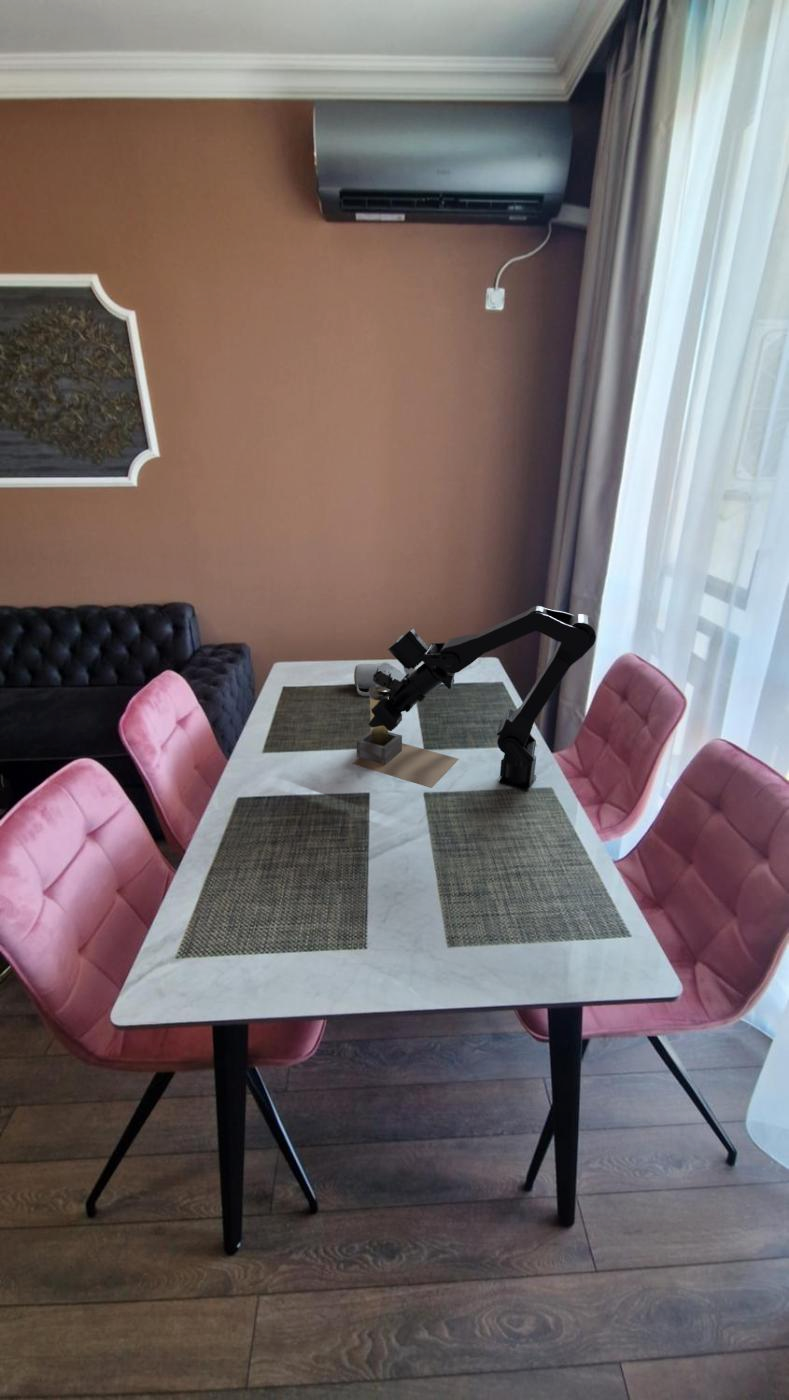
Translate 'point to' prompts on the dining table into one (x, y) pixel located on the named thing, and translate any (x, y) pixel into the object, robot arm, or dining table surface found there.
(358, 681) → the ceramic mug
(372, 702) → the brass peg
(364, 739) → the board with square socket
